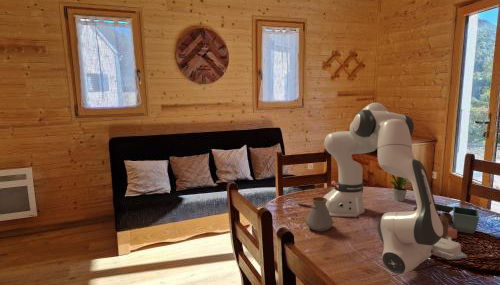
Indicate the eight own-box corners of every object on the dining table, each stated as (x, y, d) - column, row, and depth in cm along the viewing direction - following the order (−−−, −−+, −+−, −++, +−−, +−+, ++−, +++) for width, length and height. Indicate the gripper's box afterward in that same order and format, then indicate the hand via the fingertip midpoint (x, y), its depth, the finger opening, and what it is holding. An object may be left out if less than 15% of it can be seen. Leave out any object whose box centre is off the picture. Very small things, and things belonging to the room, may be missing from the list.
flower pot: (477, 238, 131) (479, 216, 129) (451, 233, 136) (452, 212, 134) (476, 230, 138) (478, 209, 137) (451, 225, 143) (453, 205, 141)
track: (447, 259, 116) (448, 257, 116) (410, 230, 140) (410, 228, 139) (467, 258, 116) (467, 255, 116) (426, 229, 140) (426, 227, 140)
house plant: (421, 205, 168) (423, 173, 165) (393, 205, 168) (394, 174, 165) (408, 195, 182) (409, 166, 179) (382, 196, 182) (383, 167, 179)
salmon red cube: (446, 241, 130) (447, 231, 129) (440, 236, 134) (440, 227, 133) (456, 240, 130) (457, 230, 129) (449, 235, 134) (450, 226, 133)
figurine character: (413, 220, 153) (449, 227, 141) (412, 204, 152) (448, 209, 141) (419, 216, 157) (455, 222, 146) (418, 200, 157) (454, 205, 145)
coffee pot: (315, 220, 152) (315, 188, 150) (337, 227, 144) (338, 194, 142) (286, 235, 137) (286, 201, 135) (309, 244, 130) (309, 207, 127)
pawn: (439, 247, 123) (441, 218, 121) (432, 241, 127) (434, 214, 125) (450, 246, 123) (453, 218, 121) (443, 241, 127) (445, 213, 125)
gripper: (452, 248, 101) (468, 235, 110) (388, 228, 117) (407, 218, 126) (451, 268, 102) (467, 253, 111) (387, 245, 118) (406, 234, 127)
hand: (435, 234), depth 119 cm, fingers open, 8 cm apart
